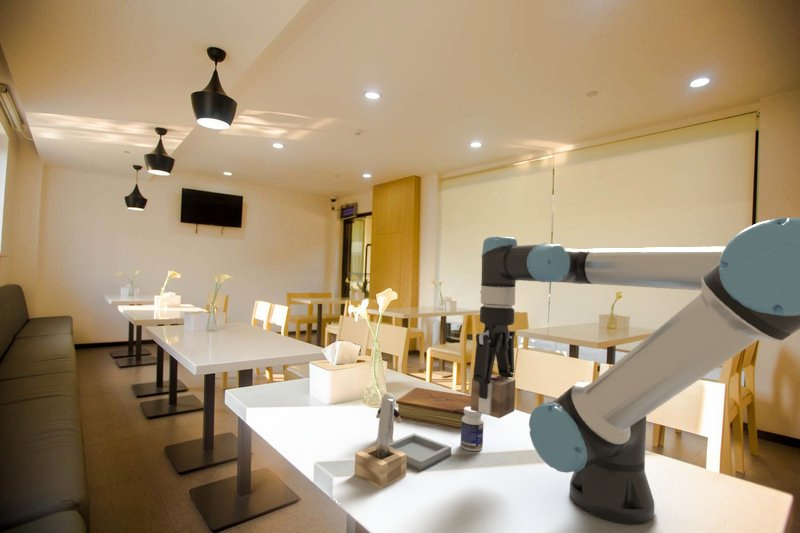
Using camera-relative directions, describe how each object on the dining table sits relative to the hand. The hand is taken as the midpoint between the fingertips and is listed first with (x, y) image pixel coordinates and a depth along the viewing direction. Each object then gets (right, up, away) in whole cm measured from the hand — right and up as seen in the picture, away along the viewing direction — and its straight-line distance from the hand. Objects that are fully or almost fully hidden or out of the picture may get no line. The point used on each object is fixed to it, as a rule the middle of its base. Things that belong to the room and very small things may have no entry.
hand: (493, 408), depth 92 cm
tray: (-17, -15, +10) cm, 24 cm away
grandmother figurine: (-24, -15, +18) cm, 33 cm away
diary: (-8, -17, +41) cm, 45 cm away
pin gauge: (-25, -13, -2) cm, 29 cm away
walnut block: (0, 0, 0) cm, 0 cm away
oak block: (-25, -14, -2) cm, 29 cm away
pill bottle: (-2, -16, +16) cm, 22 cm away
